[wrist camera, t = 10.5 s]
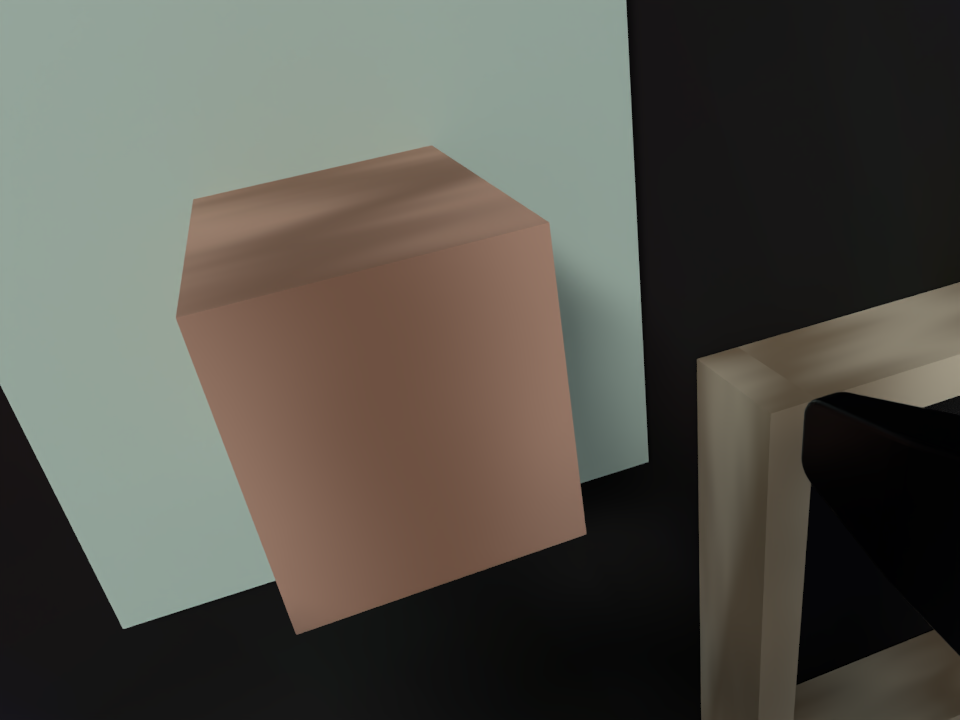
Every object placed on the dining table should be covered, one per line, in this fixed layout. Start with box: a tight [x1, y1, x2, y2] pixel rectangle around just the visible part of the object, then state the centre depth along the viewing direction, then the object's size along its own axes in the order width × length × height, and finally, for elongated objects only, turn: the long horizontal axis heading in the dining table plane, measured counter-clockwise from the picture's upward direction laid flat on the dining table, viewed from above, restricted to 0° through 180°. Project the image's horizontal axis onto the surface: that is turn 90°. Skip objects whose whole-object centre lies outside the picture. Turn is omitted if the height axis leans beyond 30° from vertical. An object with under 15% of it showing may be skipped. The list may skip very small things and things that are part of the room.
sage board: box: [0, 0, 649, 629], centre depth 15 cm, size 13×13×1 cm
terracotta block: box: [176, 145, 586, 635], centre depth 13 cm, size 4×5×6 cm
